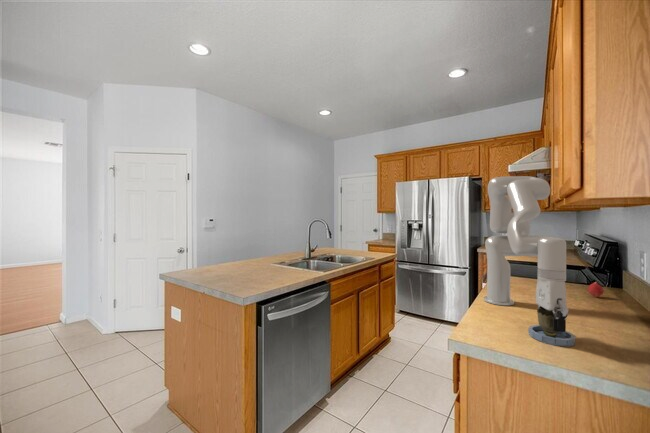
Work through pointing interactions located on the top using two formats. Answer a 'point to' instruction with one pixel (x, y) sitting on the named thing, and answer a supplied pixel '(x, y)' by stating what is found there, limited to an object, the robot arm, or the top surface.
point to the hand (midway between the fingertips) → (551, 325)
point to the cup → (547, 322)
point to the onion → (595, 289)
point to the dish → (560, 340)
